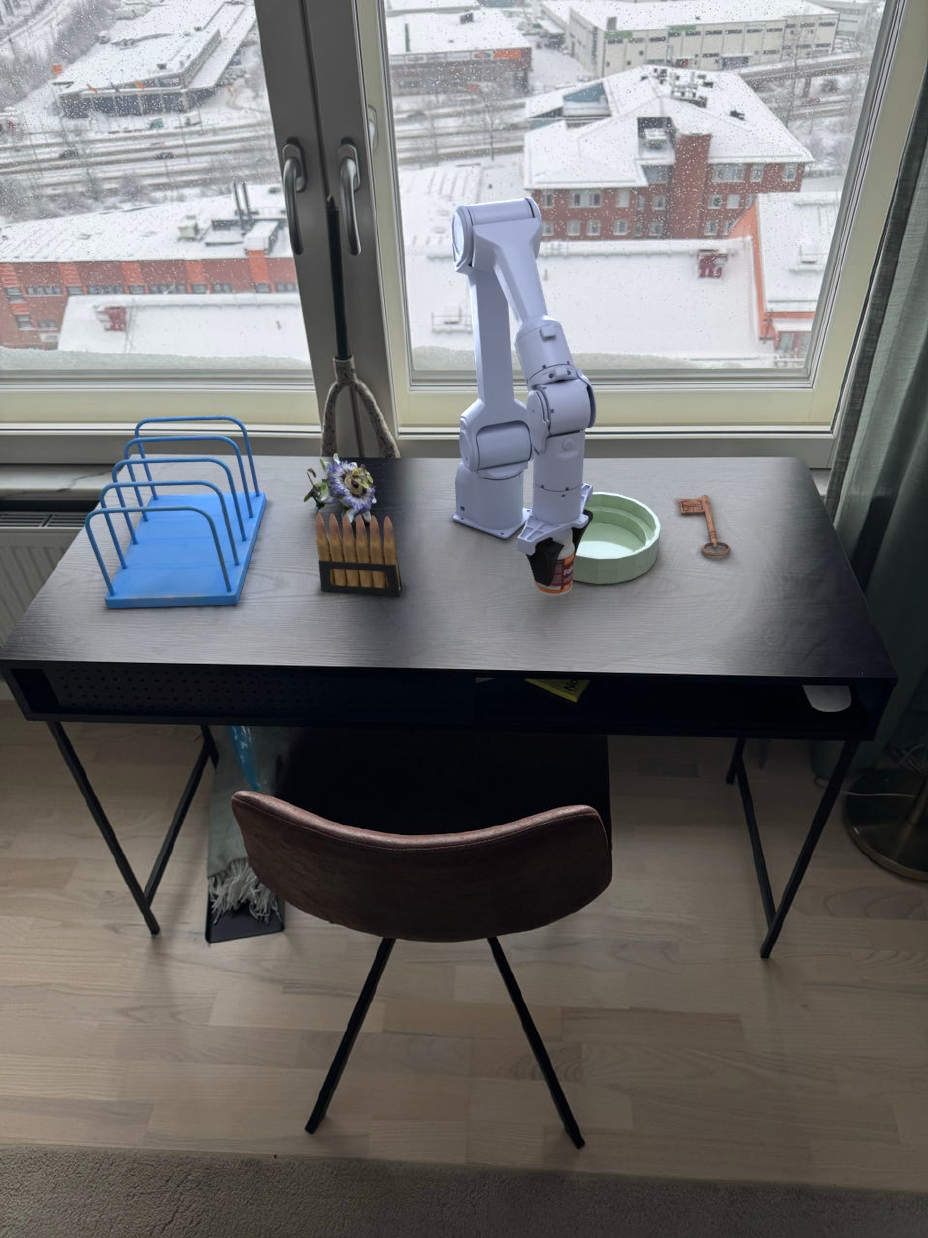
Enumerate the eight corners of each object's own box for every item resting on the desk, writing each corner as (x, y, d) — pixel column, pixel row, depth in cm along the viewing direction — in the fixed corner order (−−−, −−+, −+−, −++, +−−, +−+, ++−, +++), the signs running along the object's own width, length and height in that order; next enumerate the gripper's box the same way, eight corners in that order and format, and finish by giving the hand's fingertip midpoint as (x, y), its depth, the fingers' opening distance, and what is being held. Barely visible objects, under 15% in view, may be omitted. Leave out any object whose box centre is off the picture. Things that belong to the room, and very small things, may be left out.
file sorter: (154, 505, 142) (128, 414, 132) (267, 502, 142) (250, 410, 132) (106, 609, 123) (72, 511, 113) (238, 606, 123) (215, 508, 113)
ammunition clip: (321, 592, 124) (309, 516, 117) (324, 583, 126) (312, 508, 118) (399, 596, 123) (393, 520, 116) (402, 587, 125) (395, 512, 117)
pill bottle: (570, 599, 117) (573, 544, 111) (532, 595, 117) (533, 540, 112) (574, 576, 120) (577, 522, 115) (537, 572, 121) (539, 518, 116)
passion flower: (368, 550, 141) (366, 523, 129) (297, 537, 140) (289, 508, 129) (382, 482, 144) (382, 449, 132) (313, 469, 143) (306, 435, 132)
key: (678, 500, 140) (688, 559, 128) (678, 495, 139) (688, 553, 127) (718, 498, 139) (731, 557, 127) (718, 493, 138) (732, 552, 127)
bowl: (517, 560, 129) (517, 533, 126) (576, 506, 139) (577, 480, 136) (622, 600, 121) (625, 573, 118) (676, 540, 131) (680, 513, 128)
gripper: (555, 518, 102) (551, 613, 111) (617, 461, 111) (609, 553, 120) (501, 499, 106) (501, 593, 114) (566, 445, 115) (562, 536, 123)
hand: (553, 572), depth 117 cm, fingers closed on pill bottle, 5 cm apart
